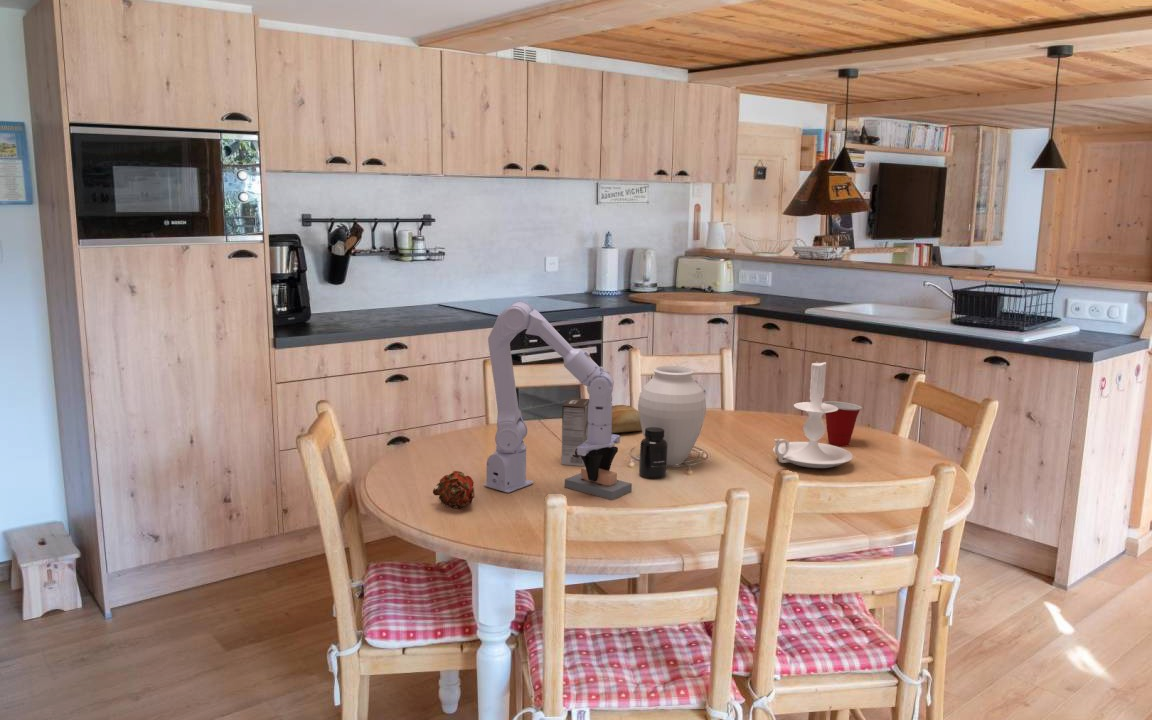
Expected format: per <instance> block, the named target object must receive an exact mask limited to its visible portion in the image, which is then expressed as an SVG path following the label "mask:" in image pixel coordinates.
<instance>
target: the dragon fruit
mask: <svg viewBox="0 0 1152 720" xmlns="http://www.w3.org/2000/svg"><path fill="white" fill-rule="evenodd" d="M474 484H475V483H474V479H472V477H471V476H469V475H465V474H464V472H462V471H459V470H454V471H452V473H449V474H445V475H444V476H442V477H441V478H440V479H439V482H438V483H437V484H436V487H437V488H433V489H432V494H433V496H438V499H439V501H440V503H441V504H443V505H444V506H445V507H451V508H453V509H456V510H457V509H458V510H460V509H461V508H463V507H465V506H466V505H468V504H469V505H470V504H471V503H472V502H473V499H474V498H475V487H474Z"/></svg>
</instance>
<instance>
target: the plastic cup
mask: <svg viewBox="0 0 1152 720" xmlns="http://www.w3.org/2000/svg"><path fill="white" fill-rule="evenodd" d="M822 403H825V404H830V405H833V406H836V407H837V408H838V410H837V411H834V412H828V413H824V414H825V422H826V425H825V426H826V433H827V441H828V445H833V446H837V447H847V446H850V443H851V440H852V436H853V433H854V429H855V425H856V421H857V418H858V415H859V413H860V411H861V410H862V408H863V407H862V406H861V405H858V404H855V403H850V402H844V401H835V400H830V401H829V400H827V401H826V400H825V401H822Z"/></svg>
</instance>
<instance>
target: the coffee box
mask: <svg viewBox="0 0 1152 720" xmlns="http://www.w3.org/2000/svg"><path fill="white" fill-rule="evenodd" d="M588 403H589V398H578V397H577V398H576V397H569V398H568V399H567V400H566V401H565V402H564V403H563V404H562V407H561V408H562V410H561V411H562V413H561V416H562V417H561V465H564V466H565V465H566V466H578V467H585V464H584V462H583V460H582V458H581V456H580V455H578V454H577V447H578V446H580V445H582V444H583V443H584V442H585V441H586V440H587V431H588Z"/></svg>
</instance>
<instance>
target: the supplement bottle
mask: <svg viewBox="0 0 1152 720" xmlns="http://www.w3.org/2000/svg"><path fill="white" fill-rule="evenodd" d="M645 437H646V438H643V439H641V441H640V445H639V447H640V448H639V449H640V450H639V465H638V466H639V467H638V473H639V475H640V477H642V478H646V479H652V480H657V479H659V480H660V479H663V478H664V477H666V475H667V465H666V464H667V447H668V444H667V442H666V441H665V440H664V439H663V438H664V429H662V428H657V427H649V428H646V429H645Z"/></svg>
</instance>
